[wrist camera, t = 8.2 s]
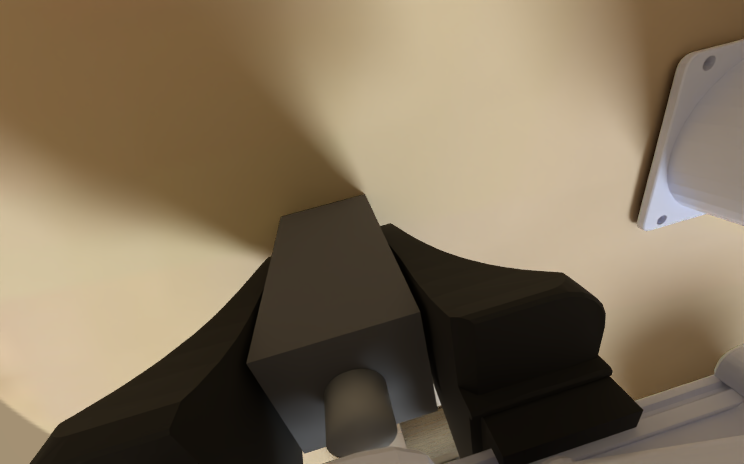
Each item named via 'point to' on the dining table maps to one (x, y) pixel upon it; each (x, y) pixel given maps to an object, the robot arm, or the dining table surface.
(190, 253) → the dining table surface
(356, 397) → the plug
